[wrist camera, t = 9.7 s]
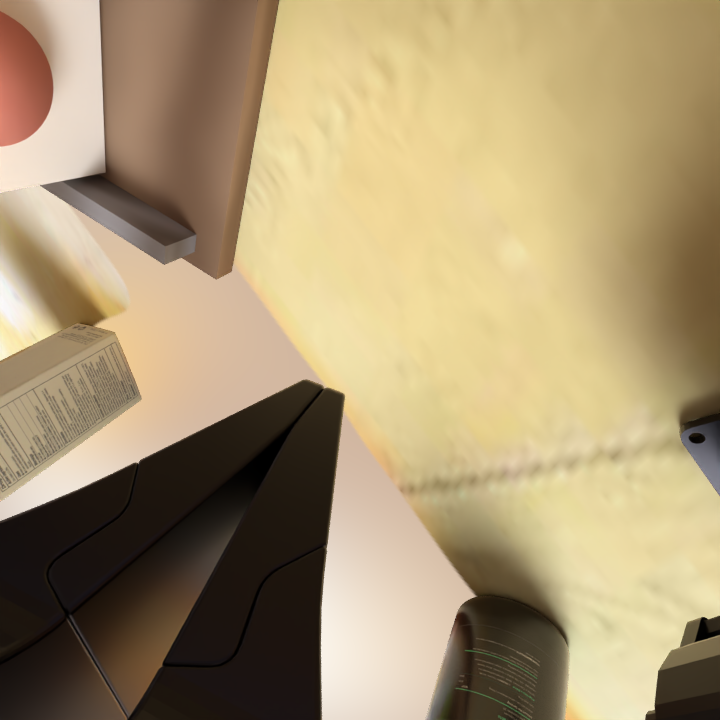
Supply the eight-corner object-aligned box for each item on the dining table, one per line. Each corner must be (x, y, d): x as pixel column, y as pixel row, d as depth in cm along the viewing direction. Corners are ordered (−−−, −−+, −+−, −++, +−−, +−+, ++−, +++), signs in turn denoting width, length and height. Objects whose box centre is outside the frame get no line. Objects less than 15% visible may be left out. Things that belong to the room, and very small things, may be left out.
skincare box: (77, 320, 33) (-133, 416, 24) (118, 330, 31) (-92, 438, 22) (107, 391, 36) (-67, 500, 27) (145, 403, 35) (-27, 524, 25)
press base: (289, -60, 15) (201, -96, 12) (231, 271, 24) (172, 302, 21) (-46, -220, 17) (-194, -285, 14) (13, 135, 26) (-71, 144, 23)
